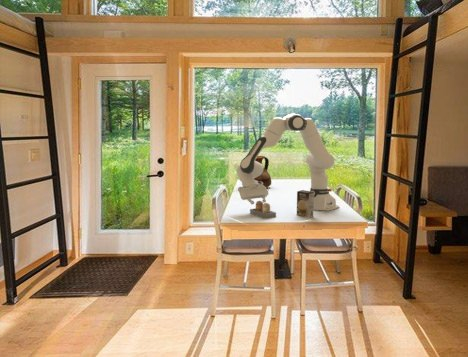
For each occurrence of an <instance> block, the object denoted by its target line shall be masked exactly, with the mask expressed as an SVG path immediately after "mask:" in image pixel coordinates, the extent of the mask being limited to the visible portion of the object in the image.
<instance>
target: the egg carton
mask: <svg viewBox="0 0 468 357" xmlns="http://www.w3.org/2000/svg"><path fill="white" fill-rule="evenodd" d="M249 213H250V214H251V215H254V216H257V217H260V218H263V219H269V218H276V217H277V212H276V211H273V210H270V213H266V214H265V213H263V211H256V207H255V208H249Z"/></svg>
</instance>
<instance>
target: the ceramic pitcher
mask: <svg viewBox="0 0 468 357" xmlns="http://www.w3.org/2000/svg"><path fill="white" fill-rule="evenodd" d="M263 160H264V166H263V168H264V170H263V173H262V174H261V175H260V176H258V177H256V178H254V180H256V181H261V182H263V185H264V186H265V187H266V188H268V187H270V186H272V177H271V175H270V173H269V171H268V169H269V165H270V161H269V158H268V157H266V156H265V155H258V156H257V158H256V160H255V161H257V162H259V163H261V164H262V165H263Z"/></svg>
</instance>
